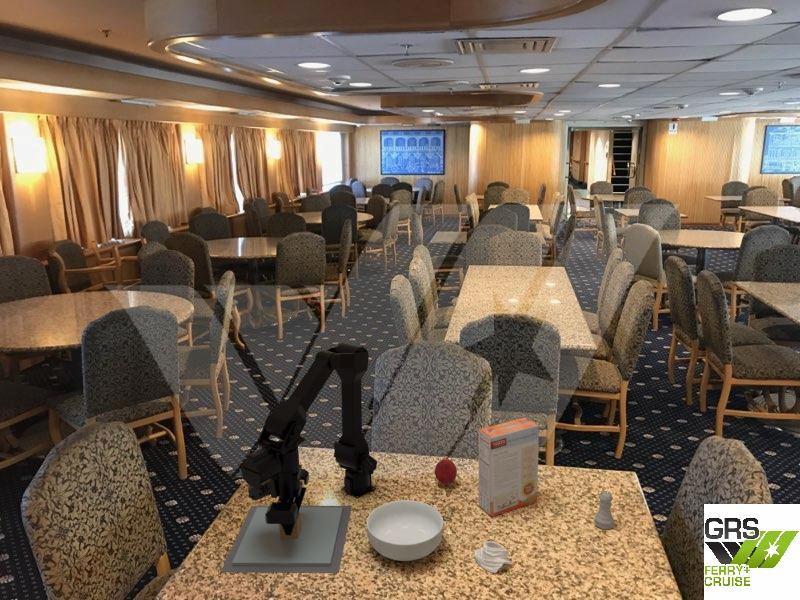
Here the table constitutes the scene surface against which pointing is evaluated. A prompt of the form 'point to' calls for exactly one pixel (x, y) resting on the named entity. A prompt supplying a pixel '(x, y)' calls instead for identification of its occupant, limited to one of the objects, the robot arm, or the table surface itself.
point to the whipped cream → (492, 556)
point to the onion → (445, 471)
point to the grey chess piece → (604, 511)
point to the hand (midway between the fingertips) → (290, 528)
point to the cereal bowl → (405, 529)
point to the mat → (290, 569)
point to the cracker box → (508, 465)
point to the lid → (291, 539)
